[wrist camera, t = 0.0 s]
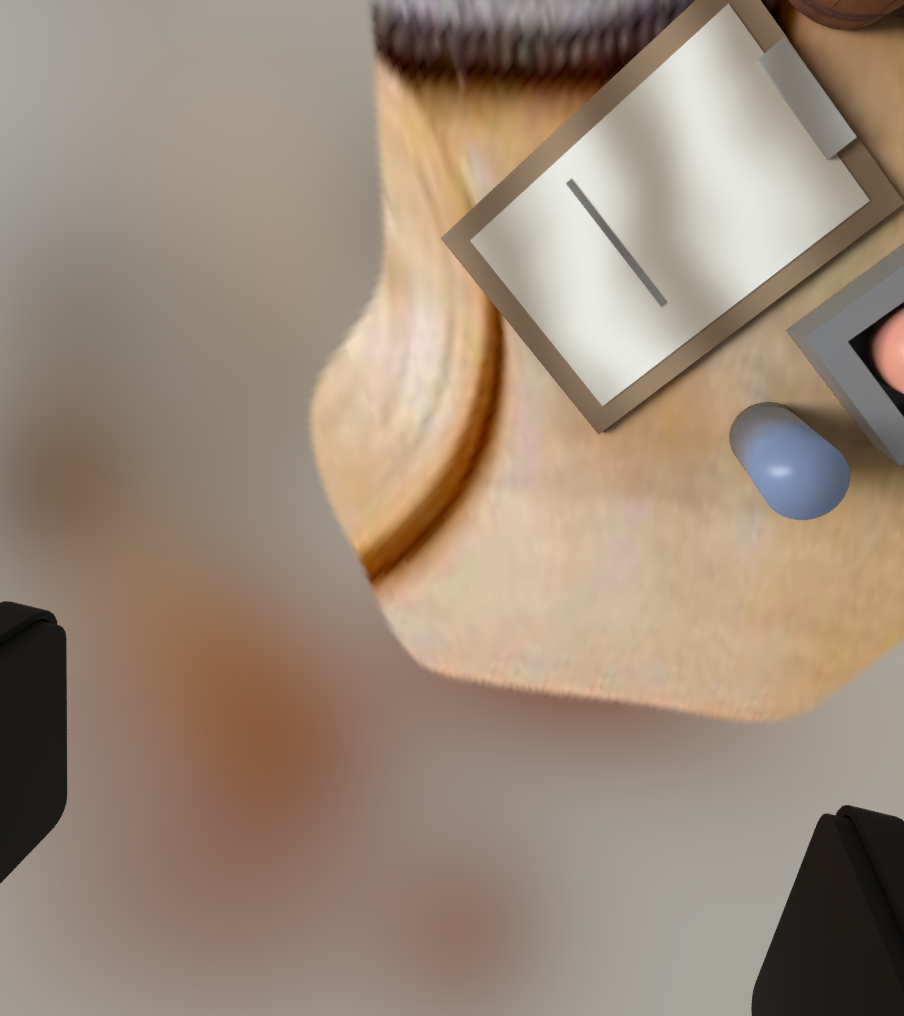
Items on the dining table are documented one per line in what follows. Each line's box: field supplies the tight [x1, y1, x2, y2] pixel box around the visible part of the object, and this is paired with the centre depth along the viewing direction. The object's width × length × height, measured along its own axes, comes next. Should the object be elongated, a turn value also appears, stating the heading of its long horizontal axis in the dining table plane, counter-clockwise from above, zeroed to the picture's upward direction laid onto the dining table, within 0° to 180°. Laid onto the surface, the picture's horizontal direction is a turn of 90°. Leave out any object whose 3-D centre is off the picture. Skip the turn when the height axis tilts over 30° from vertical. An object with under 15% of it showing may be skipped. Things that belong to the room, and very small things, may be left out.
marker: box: [730, 402, 850, 520], centre depth 34 cm, size 3×3×8 cm
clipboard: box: [441, 0, 904, 434], centre depth 35 cm, size 16×12×1 cm
